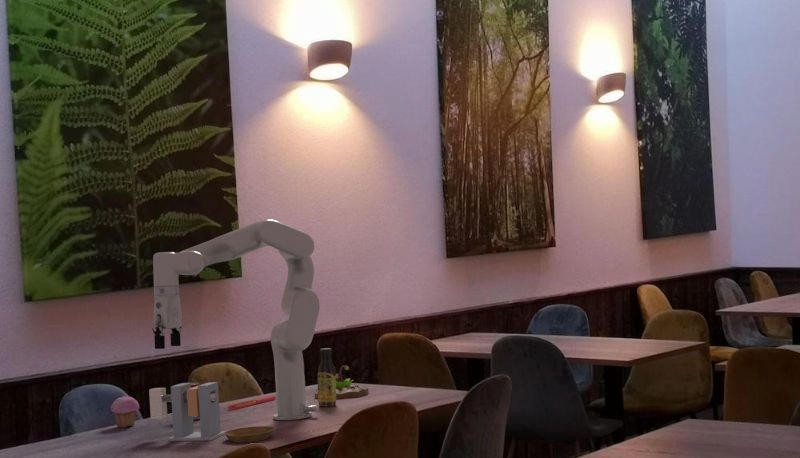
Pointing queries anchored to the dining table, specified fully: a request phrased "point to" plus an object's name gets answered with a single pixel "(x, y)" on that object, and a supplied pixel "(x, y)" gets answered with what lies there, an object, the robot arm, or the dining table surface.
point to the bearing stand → (206, 408)
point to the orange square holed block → (193, 401)
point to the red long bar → (251, 402)
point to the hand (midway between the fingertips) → (167, 347)
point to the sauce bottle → (326, 379)
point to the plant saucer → (249, 434)
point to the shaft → (163, 402)
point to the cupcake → (125, 411)
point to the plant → (347, 387)
